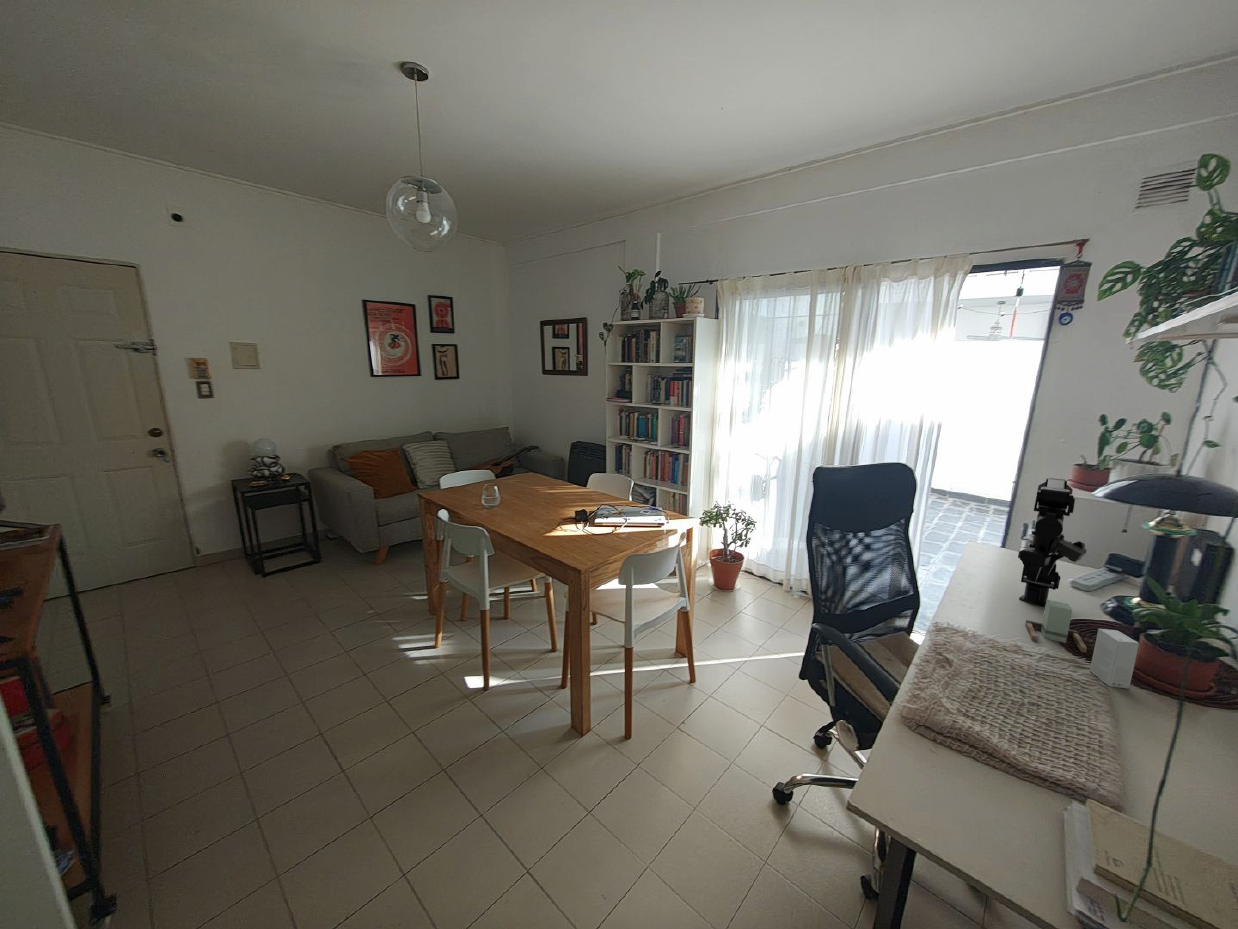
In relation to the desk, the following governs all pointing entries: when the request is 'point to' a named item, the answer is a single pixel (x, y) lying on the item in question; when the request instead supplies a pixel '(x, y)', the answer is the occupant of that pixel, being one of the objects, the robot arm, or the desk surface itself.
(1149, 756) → the desk surface
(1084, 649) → the walnut guide
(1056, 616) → the block
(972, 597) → the desk surface
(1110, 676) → the skincare box
